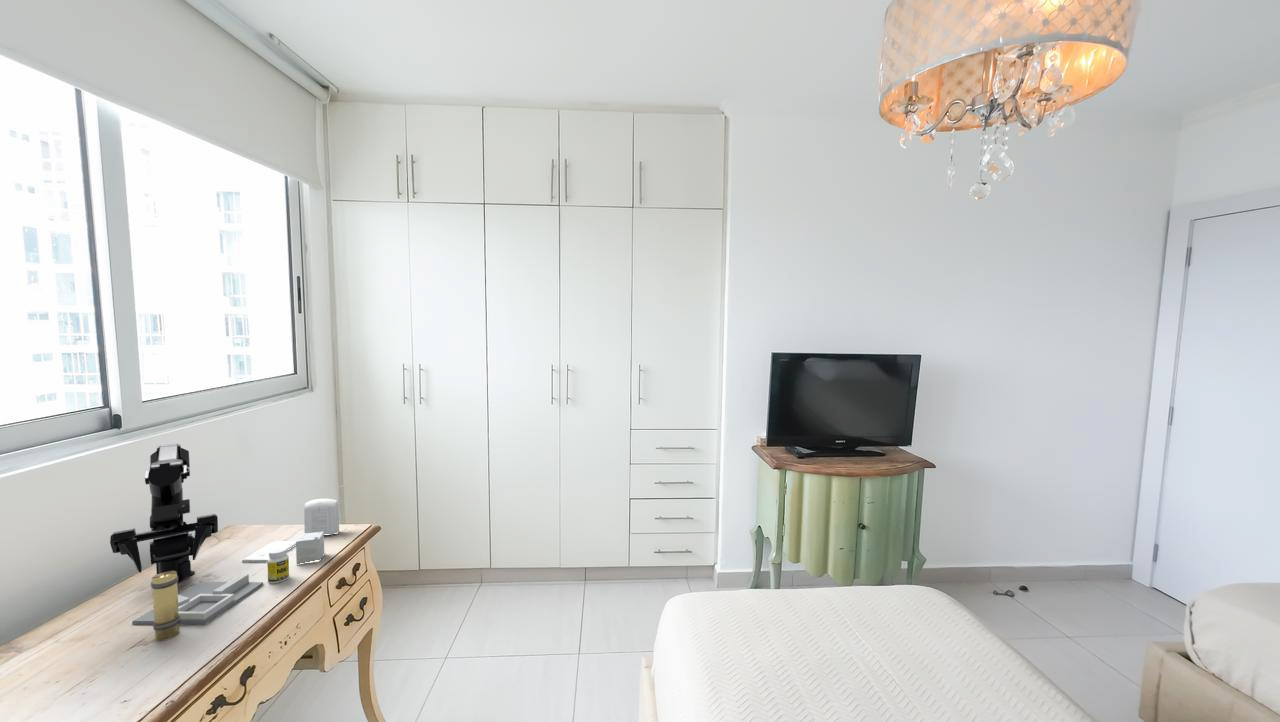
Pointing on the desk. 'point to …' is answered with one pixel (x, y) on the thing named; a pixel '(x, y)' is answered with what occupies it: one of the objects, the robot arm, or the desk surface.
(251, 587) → the coupling station
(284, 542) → the external hard drive
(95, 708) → the desk surface
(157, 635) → the disc
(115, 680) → the desk surface
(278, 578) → the supplement bottle
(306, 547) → the skincare box
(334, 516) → the photo printer
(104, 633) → the desk surface
